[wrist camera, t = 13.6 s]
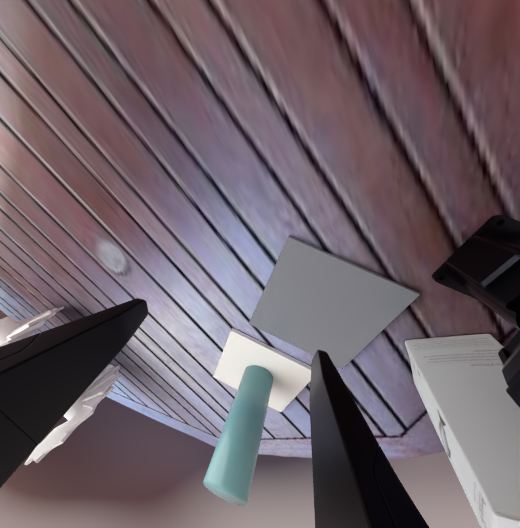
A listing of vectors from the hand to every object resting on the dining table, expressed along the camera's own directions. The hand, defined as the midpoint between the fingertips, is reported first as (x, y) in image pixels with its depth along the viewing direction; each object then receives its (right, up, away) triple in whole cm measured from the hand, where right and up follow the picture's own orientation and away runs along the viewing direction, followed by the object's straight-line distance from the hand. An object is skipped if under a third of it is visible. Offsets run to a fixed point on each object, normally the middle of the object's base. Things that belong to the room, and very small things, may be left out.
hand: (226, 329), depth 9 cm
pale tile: (+2, -15, +22) cm, 27 cm away
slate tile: (+9, -2, +13) cm, 16 cm away
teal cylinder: (+1, -15, +21) cm, 26 cm away
